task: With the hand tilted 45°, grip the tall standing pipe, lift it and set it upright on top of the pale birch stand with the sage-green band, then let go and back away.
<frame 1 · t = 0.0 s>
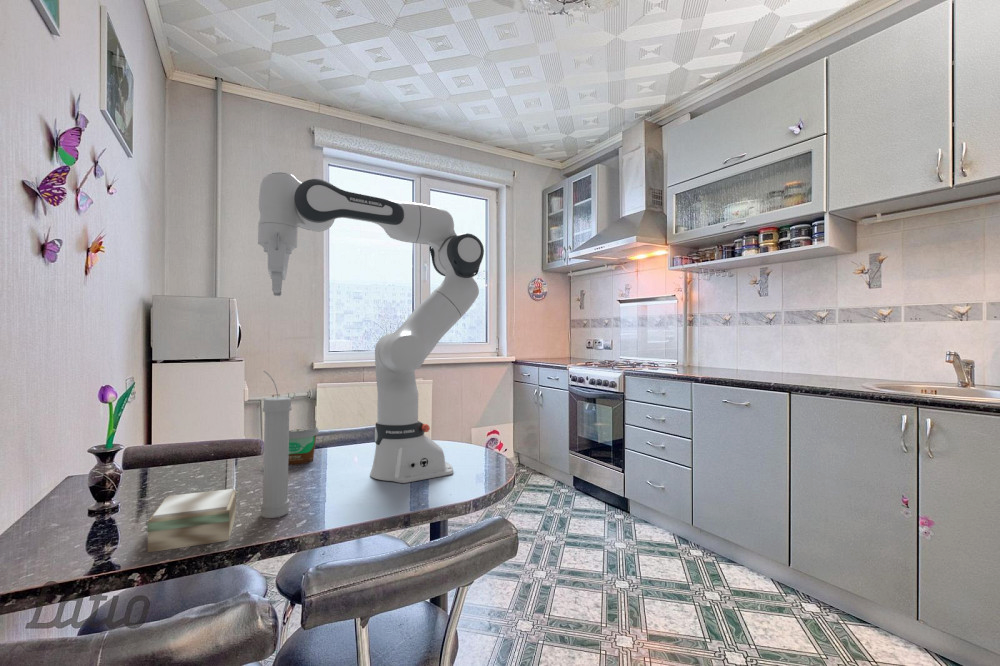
hand: (276, 294, 114), 48 cm above the table, tool pointing down, fingers open, 8 cm apart
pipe: (273, 514, 96), on the table
food container: (296, 464, 135), on the table
stand: (195, 533, 86), on the table
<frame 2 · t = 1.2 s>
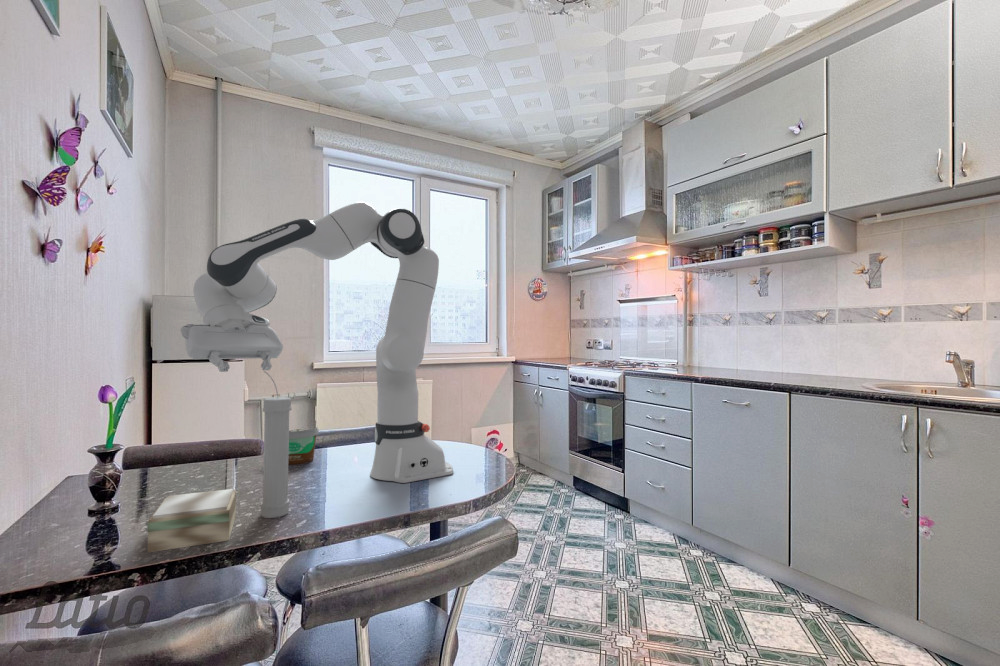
hand: (247, 369, 104), 30 cm above the table, tool tilted 45°, fingers open, 8 cm apart
nothing on the table moved.
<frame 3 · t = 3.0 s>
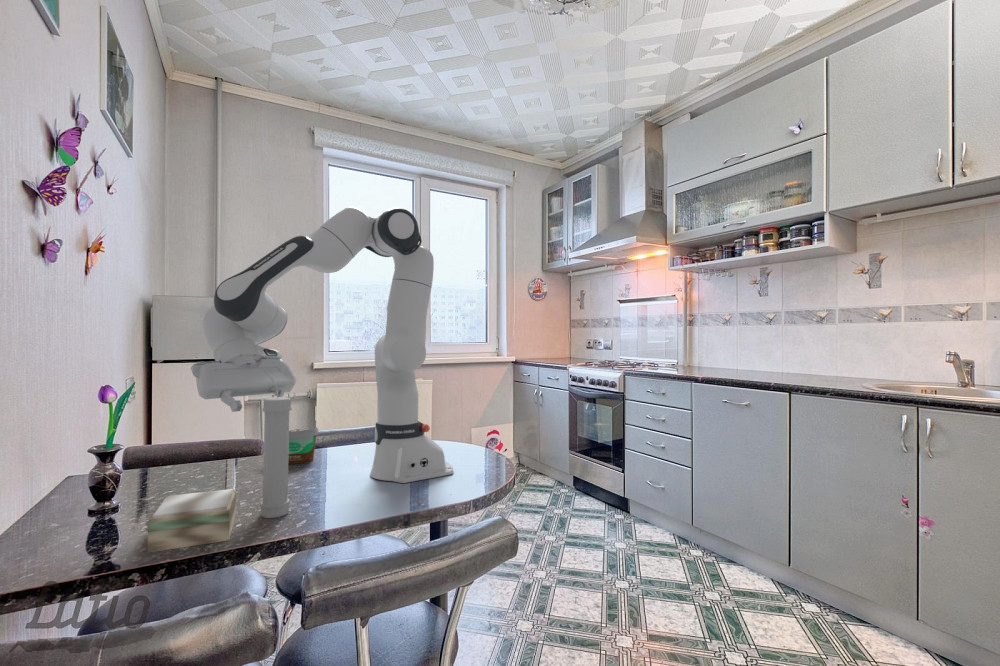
hand: (260, 407, 100), 22 cm above the table, tool tilted 45°, fingers open, 8 cm apart
nothing on the table moved.
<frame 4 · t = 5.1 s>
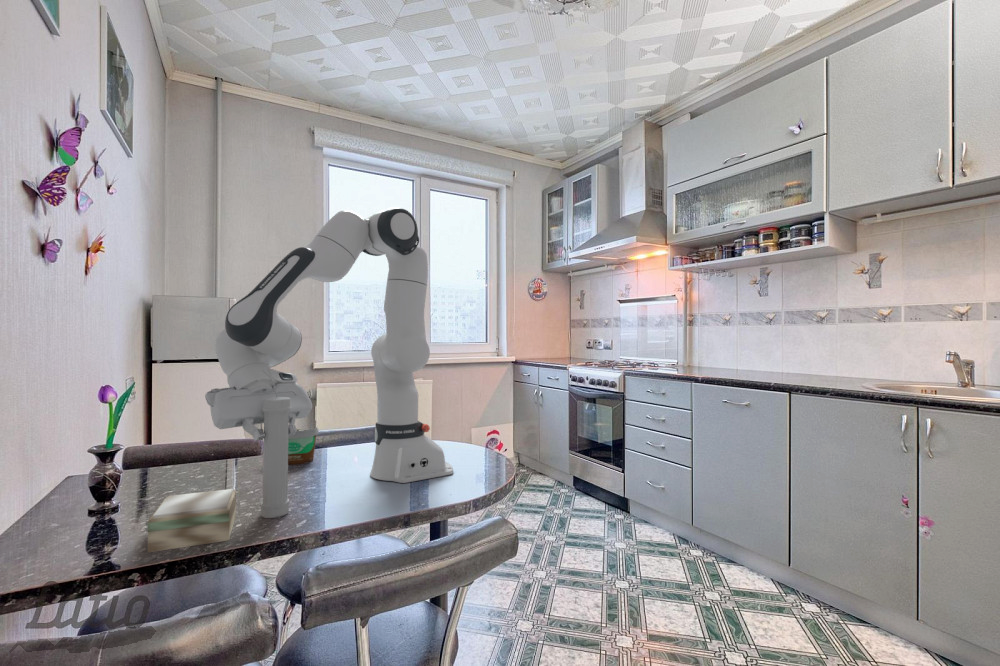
hand: (276, 435, 96), 16 cm above the table, tool tilted 45°, fingers closed on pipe, 5 cm apart
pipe: (273, 514, 96), on the table, touching gripper
everything else where it was.
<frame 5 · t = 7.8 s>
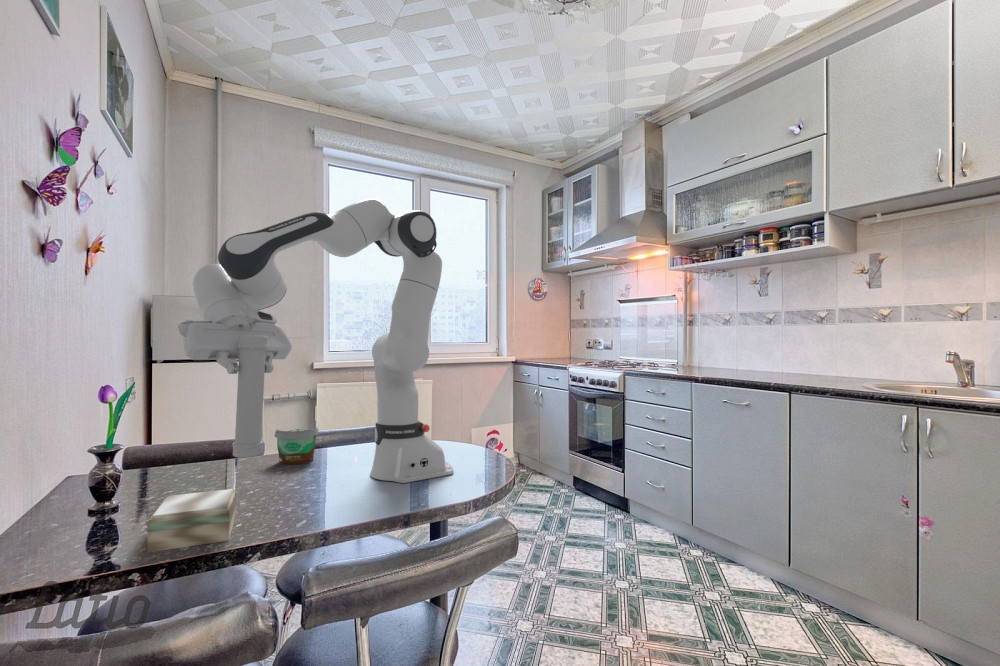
hand: (252, 371, 93), 30 cm above the table, tool tilted 45°, fingers closed on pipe, 5 cm apart
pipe: (246, 455, 92), point 13 cm above the table, touching gripper
everything else where it was.
when the fingers open (23 cm above the table, at t = 10.4 s): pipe stays where it is, resting on stand.
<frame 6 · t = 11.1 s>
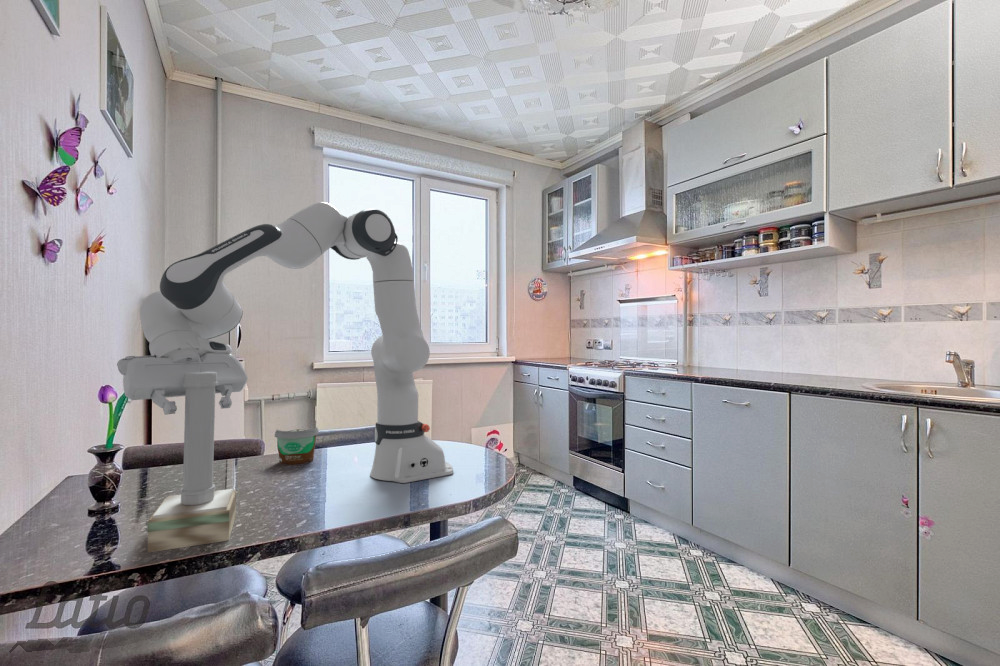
hand: (200, 409, 86), 23 cm above the table, tool tilted 45°, fingers open, 8 cm apart
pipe: (196, 502, 86), point 6 cm above the table, touching stand
everything else where it was.
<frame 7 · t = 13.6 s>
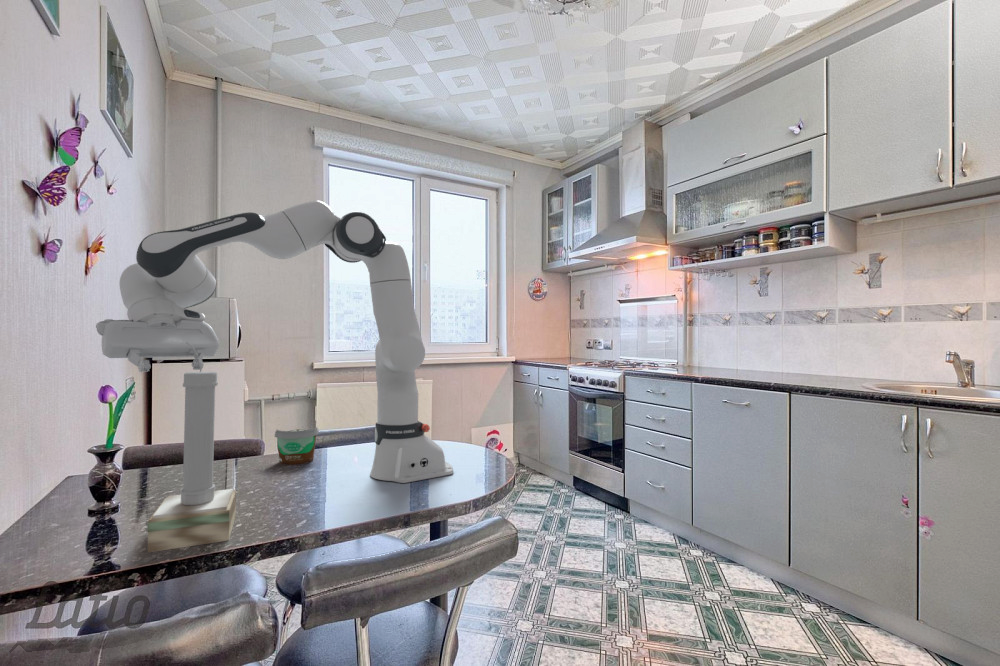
hand: (173, 368, 93), 30 cm above the table, tool tilted 45°, fingers open, 8 cm apart
nothing on the table moved.
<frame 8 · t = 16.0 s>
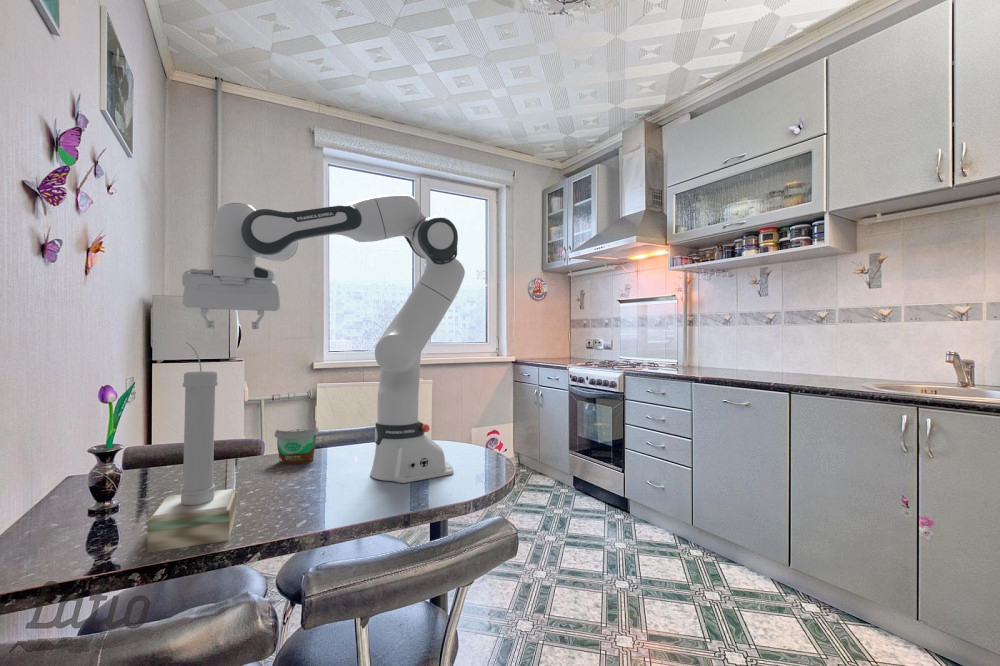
hand: (233, 328, 110), 39 cm above the table, tool pointing down, fingers open, 8 cm apart
nothing on the table moved.
at the end: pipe inside the target area on the stand (0.1 cm from its centre), point 5.8 cm above the stand's base; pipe tilted 0°; the gripper is holding nothing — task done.
